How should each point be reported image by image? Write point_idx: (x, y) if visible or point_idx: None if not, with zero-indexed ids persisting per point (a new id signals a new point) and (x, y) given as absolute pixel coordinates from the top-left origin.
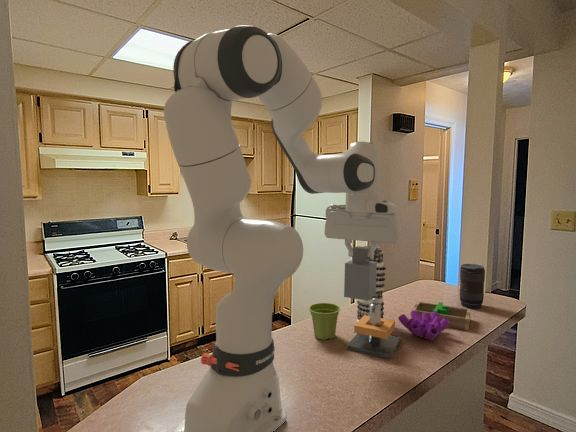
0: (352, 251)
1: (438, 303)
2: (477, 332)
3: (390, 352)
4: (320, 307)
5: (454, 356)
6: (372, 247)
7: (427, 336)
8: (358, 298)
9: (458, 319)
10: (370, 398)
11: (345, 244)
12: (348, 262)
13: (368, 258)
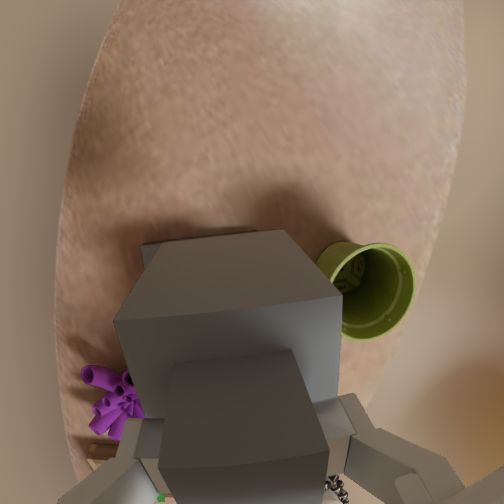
0: (330, 433)
1: (161, 497)
2: (77, 440)
3: (146, 258)
4: (390, 315)
5: (55, 331)
6: (96, 493)
7: (110, 371)
8: (211, 238)
9: (103, 457)
10: (123, 66)
11: (432, 455)
12: (327, 342)
13: (161, 418)
